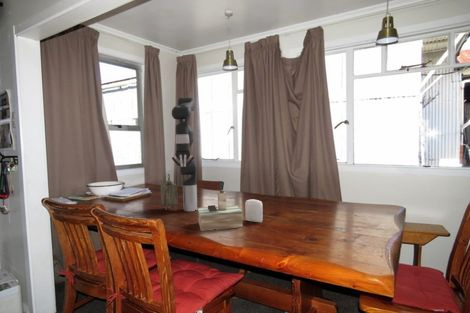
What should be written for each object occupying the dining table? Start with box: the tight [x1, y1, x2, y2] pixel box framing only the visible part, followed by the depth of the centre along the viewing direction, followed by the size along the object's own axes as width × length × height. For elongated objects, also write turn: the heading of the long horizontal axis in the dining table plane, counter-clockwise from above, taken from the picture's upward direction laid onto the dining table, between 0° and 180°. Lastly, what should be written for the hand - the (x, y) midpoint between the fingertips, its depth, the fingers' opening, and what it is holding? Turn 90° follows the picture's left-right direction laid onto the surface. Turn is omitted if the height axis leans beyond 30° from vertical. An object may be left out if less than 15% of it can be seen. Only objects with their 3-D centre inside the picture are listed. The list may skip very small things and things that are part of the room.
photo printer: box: [244, 198, 264, 223], centre depth 161 cm, size 10×4×12 cm, turn 60°
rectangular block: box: [197, 204, 244, 232], centre depth 155 cm, size 16×23×10 cm
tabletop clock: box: [160, 173, 179, 212], centre depth 192 cm, size 14×9×25 cm, turn 22°
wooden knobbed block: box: [217, 189, 228, 210], centre depth 155 cm, size 4×4×10 cm
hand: (183, 173), depth 160 cm, fingers closed
